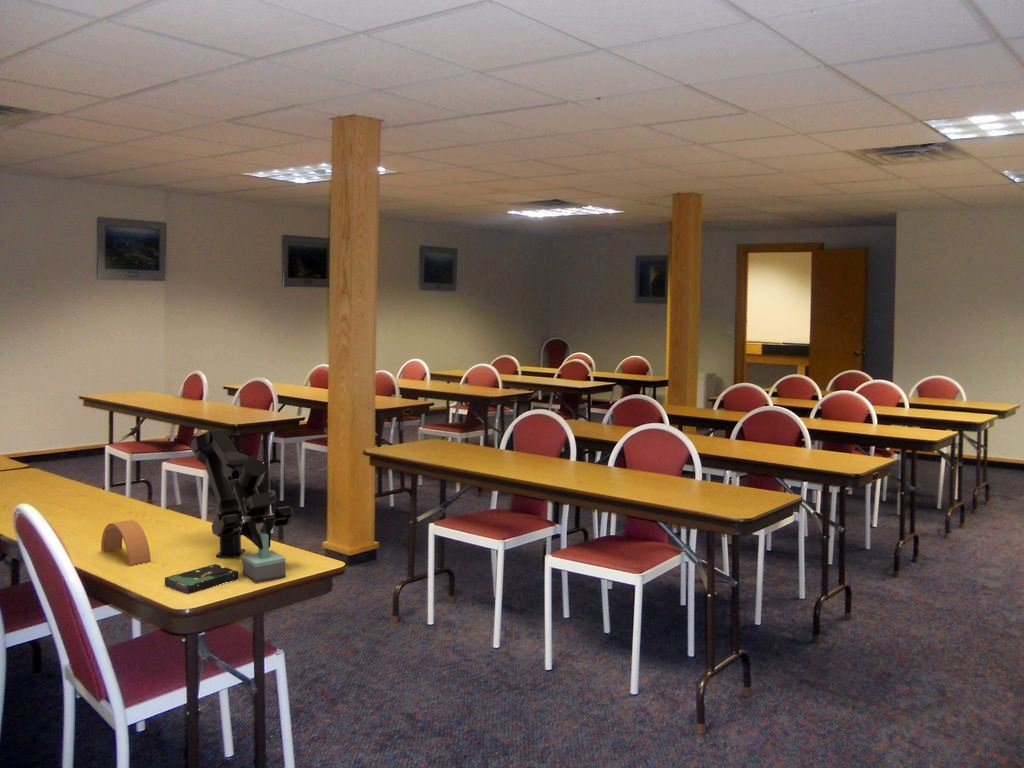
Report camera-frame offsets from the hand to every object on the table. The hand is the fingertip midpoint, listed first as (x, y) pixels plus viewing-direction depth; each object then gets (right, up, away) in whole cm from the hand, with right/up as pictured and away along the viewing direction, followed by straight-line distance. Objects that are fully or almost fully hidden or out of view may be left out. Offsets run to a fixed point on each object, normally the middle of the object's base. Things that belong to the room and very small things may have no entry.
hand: (265, 548), depth 224 cm
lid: (-1, -4, +1) cm, 5 cm away
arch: (-44, -6, +19) cm, 48 cm away
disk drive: (-15, -9, -3) cm, 18 cm away
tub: (-1, -8, +2) cm, 8 cm away
